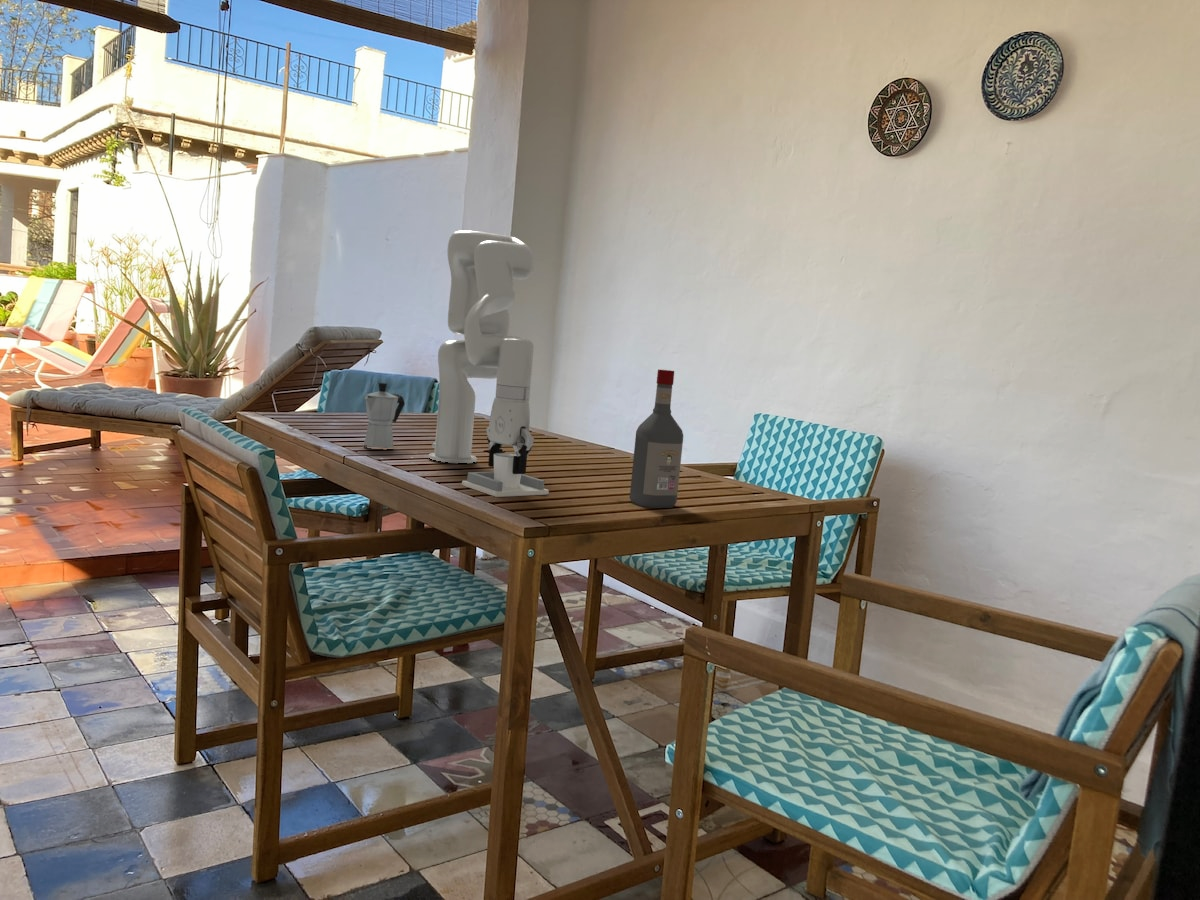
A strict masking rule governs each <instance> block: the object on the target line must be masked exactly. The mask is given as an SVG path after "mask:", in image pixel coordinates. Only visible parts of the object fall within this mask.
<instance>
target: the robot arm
mask: <svg viewBox="0 0 1200 900" xmlns="http://www.w3.org/2000/svg"><path fill="white" fill-rule="evenodd" d="M534 259H535V258H534V255H533V252H532V250H531V248H530V247H529V246H528V245H527V243H525V242H523V241H522V240H520V239H519V238H517V237H516V236H511V235H506V234H505V235H504V234H498V233H491V232H487V231H486V232H485V231H479V230H478V231H477V230H467V229H465V230H464V229H463V230H457V231H454V232H452V234H451V236H450V237H449V239H448V243H447V261H448V266H449V271H450V283H451V284H450V291H449V302H448V312H447V327H448V329H449V331H451V333H452V334H453V333H454V334H456V335H459V336H460V335H461V336H464V340H463V339H450V340H446V341H444V342H443V343H442V344H441V345H440V346H439V348H438V351H437V361H438V374H439V375H438V377H439V381H438V382H439V385H438V386H439V388H438V403H437V417H436V430H435V431H436V432H435V441H434V442H433V443H431V448H433V449H434V450H433V451H434V452H432V453H431V452H430V453H429V454H428V457H429V458H430V459H432V460H431V461H433V460H436V461H435V462H438V461H441V462H440V463H445V462H448V463H447V464H458V463H467V464H474V463H473V462H475V463H477V462H478V461H477V460H478V457H476V456H475V455H472V449H473V433H474V421H475V420H474V419H475V411H476V409H475V408H476V392H475V390H474V387H472V385H471V384H470V382H469V380H468V379H489V380H491V379H493V380H494V379H496V387H495V397H494V398H493V399H494V400H493V402H492V406H491V410H490V411H491V412H490V416H489V423H488V426H487V427H486V429H485V431H486V435H487V437H486V438H487V439H486V441H487V443H488V447H487V448H488V449H489V450H488V451H489V452H488V464H487V465H488V467H490V468H492V467H493V468H494V454H495V453H503V448H502V446H507V447H512V448H513V451H514V454H516V456H514V458H513V471H512V473H513V474H524V475H526V472H527V464H528V462H527V460H528V457H529V456H530V452H531V451H532V447H533V445H534V441H535V438H534V437H533V435H532V434H531V433H530V426H531V425H530V421H531V420H530V419H531V416H530V415H531V414H530V413H531V412H530V397H531V396H530V395H531V382H532V369H533V358H534V349H535V348H534V343H533V341H531V340H530V339H527V338H522V337H519V336H510V335H509V332H510V331H509V330H510V313H509V310H508V309H509V308H511V306H512V305H513V304H514V303H515V300H516V294H515V286H514V281H513V280H514V279H515V280H521V281H522V280H527V279H529V278H530V277H531V276H532V274H533V272H534V267H535V260H534ZM429 458H428V459H429ZM430 459H429V460H430Z"/></svg>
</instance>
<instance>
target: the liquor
mask: <svg viewBox="0 0 1200 900" xmlns="http://www.w3.org/2000/svg"><path fill="white" fill-rule="evenodd" d="M656 375H657V376H656V391H655V392H656V393H655V400H654V407H653V409H652V413H651V414H650V415H649V416H648V417H647V418H645V419H644V421H643V422H641V423H640V424H639V426H638V427H637V429H636V431H635V440H634V449H633V461H632V470H631V471H632V472H631V478H630V479H631V480H630V492H629V500H630V503H633V504H635V505H638V506H641V507H644V508H651V509H673V508H674V507H675V505H676V504H677V502H678V492H679V483H680V472H681V464H682V463H681V462H682V454H683V444H684V433H683V429H682V427H681V426H680V425H679V424H678V423H677V421H676V420H675V418H674V416H673V415H672V409H671V407H672V406H671V405H672V403H671V402H672V396H673V395H672V393H673V392H672V391H673V385H674V381H675V380H674V378H675V370H670V369H669V370H668V369H657V374H656Z"/></svg>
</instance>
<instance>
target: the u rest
mask: <svg viewBox="0 0 1200 900" xmlns="http://www.w3.org/2000/svg"><path fill="white" fill-rule="evenodd" d="M466 477H467V478H466V479H467V480H462V481H461V486H464V487H467V488H469V489H473V490H475V491H478V492H481V493H484V494H487V495H490V496H492V497H495V498H498V497H499V498H500V497H518V496H519V497H520V496H521V497H523V496H541V495H542V496H545V495H549V493H550V490H549V489H547V488H545V480H543V479H540V478H536V477H534V476H531V475H527V474H521V479H520V485H519V487H517V488H505V487H502V485H503V482H501V481H498V480H495V479H494V471H478V472H477V471H476V472H475V471H474V472H472V471H471V472H470V471H469V472H467V476H466Z"/></svg>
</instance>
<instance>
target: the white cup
mask: <svg viewBox="0 0 1200 900" xmlns="http://www.w3.org/2000/svg"><path fill="white" fill-rule="evenodd" d="M514 456H516V454H515V453H512V452H510V453H509V452H502V453H495V454H494V467H493V472H494V479H495V480H498V481H501V482H503V485H502V487H505V488H517V487H519V485H520V479H521V474H513V473H512V471H513V458H514Z"/></svg>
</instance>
